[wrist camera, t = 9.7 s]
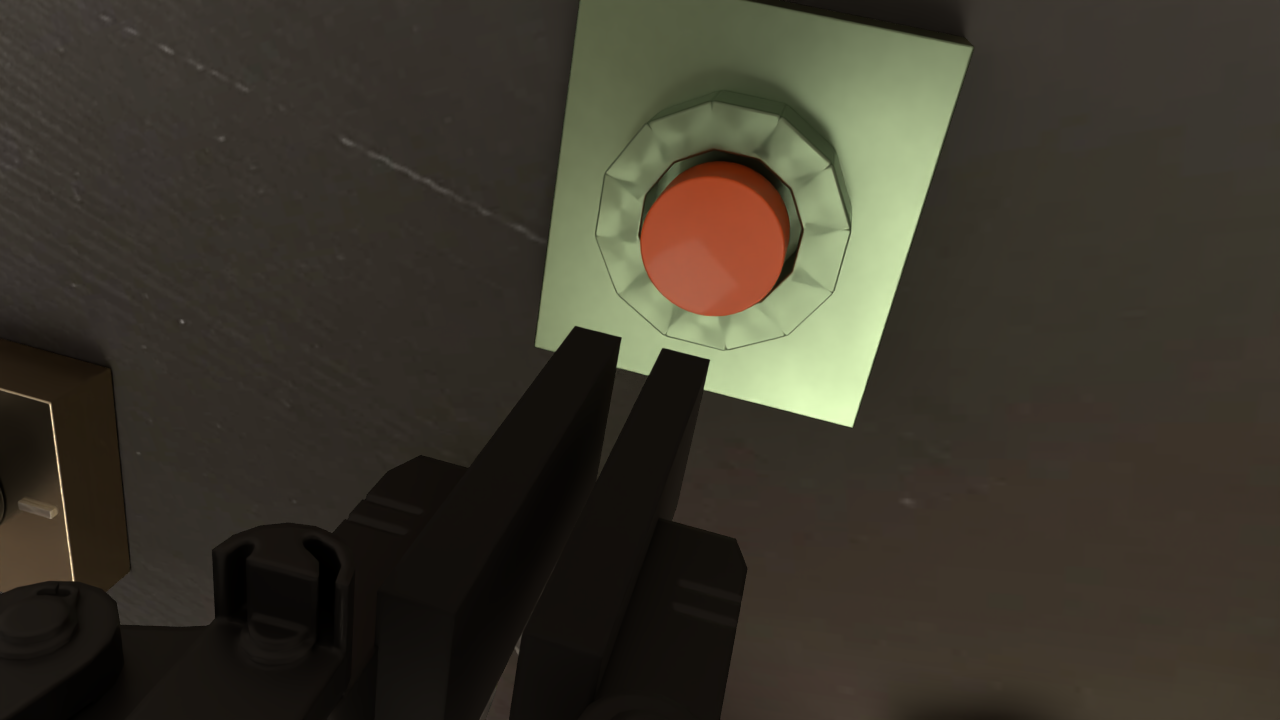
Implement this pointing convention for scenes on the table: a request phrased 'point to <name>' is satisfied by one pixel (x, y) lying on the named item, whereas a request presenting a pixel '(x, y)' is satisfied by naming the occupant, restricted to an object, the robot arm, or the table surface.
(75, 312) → the table surface
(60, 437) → the panel
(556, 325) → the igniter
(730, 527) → the table surface
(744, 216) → the button
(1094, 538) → the table surface
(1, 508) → the knob
